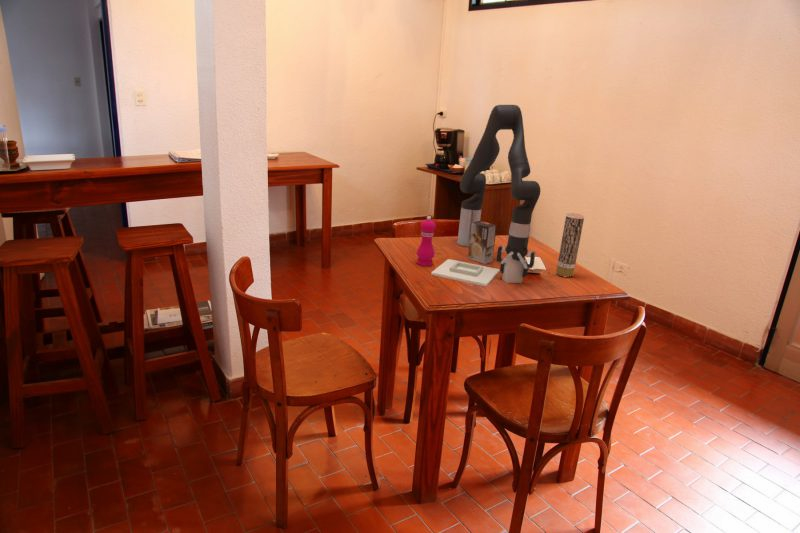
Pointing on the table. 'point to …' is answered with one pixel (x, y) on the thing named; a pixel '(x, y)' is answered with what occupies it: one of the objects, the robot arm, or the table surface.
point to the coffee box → (482, 242)
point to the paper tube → (570, 244)
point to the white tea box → (513, 271)
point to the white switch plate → (466, 272)
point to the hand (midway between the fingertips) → (513, 274)
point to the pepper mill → (426, 243)
